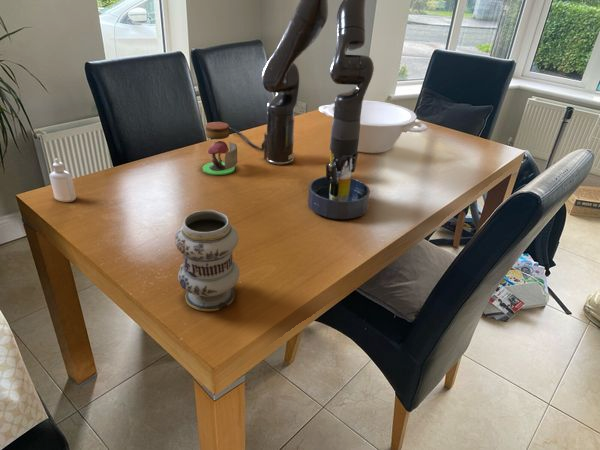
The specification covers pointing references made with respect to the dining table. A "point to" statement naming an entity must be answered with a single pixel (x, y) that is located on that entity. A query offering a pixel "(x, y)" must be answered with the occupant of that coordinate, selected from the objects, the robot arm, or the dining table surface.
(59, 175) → the eye dropper bottle
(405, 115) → the white wash basin
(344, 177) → the supplement bottle
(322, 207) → the bowl
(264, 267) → the dining table surface
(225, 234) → the apothecary jar
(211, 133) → the mushroom terrarium
